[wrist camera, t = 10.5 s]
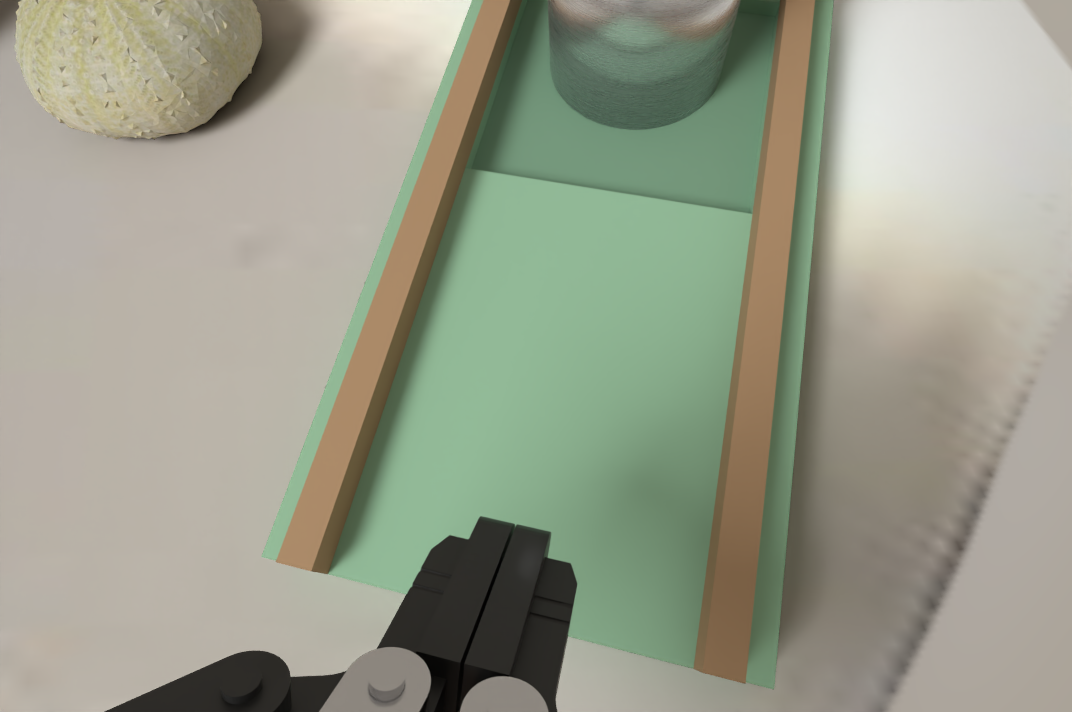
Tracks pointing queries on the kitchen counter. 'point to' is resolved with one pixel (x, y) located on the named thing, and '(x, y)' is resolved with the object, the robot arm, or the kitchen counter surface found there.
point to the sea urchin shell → (136, 61)
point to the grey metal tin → (638, 57)
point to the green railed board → (587, 343)
